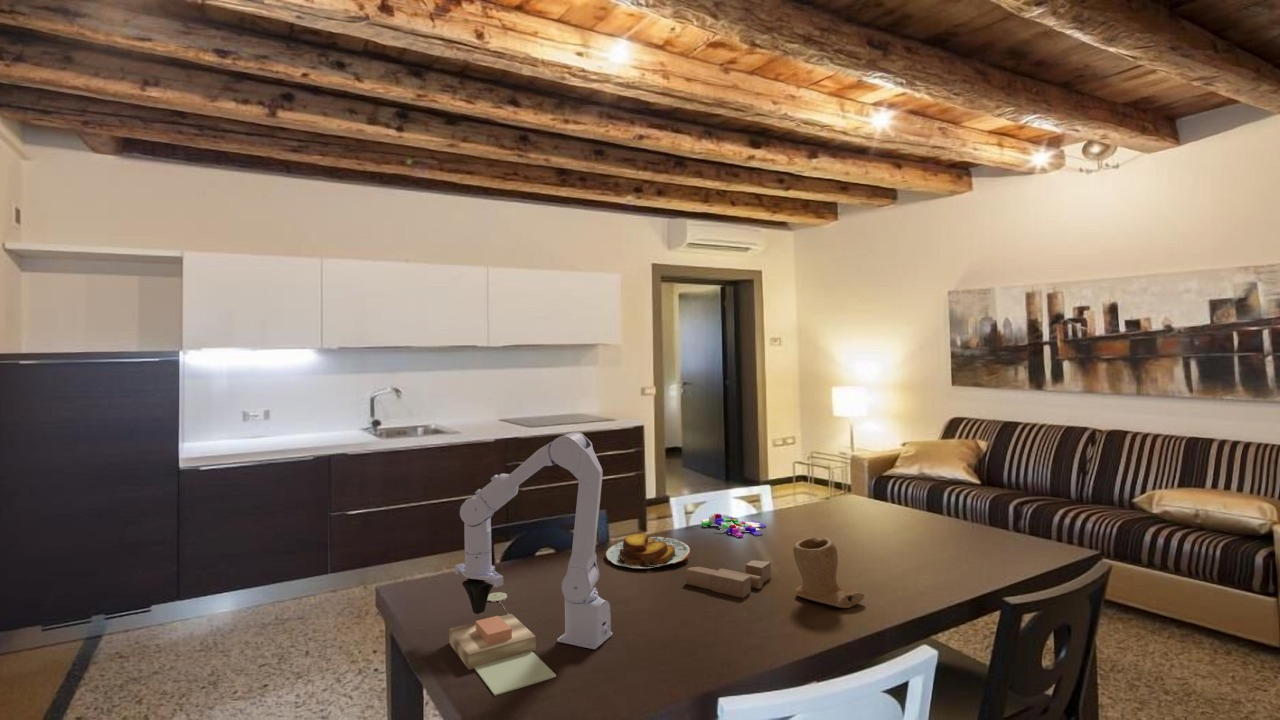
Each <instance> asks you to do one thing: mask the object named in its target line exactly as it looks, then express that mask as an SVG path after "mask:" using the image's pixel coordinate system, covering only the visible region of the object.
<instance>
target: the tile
mask: <svg viewBox="0 0 1280 720" xmlns="http://www.w3.org/2000/svg"><path fill="white" fill-rule="evenodd" d="M475 623H476V631H477V632H478V634H479V635H480V636H481V637H482V638H483V639H484V641H485V642H486V643H487V644H488V645H489V644H492V643H496V642H500V641H504V640H508V639H511V638H512V629H511V628H510V627H509V626H508V625H507V624H506V623H505V622H504V621H503V620H502V619H501V618H500V616H499V615H495V616H491V617H486V618H483V619H478V620H475Z"/></svg>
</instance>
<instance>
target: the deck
mask: <svg viewBox="0 0 1280 720" xmlns="http://www.w3.org/2000/svg"><path fill="white" fill-rule="evenodd" d="M508 614H509V615H508ZM508 614H506V615H501V616H499V617H500V618H501V619H502V620H503V621H504V622H505V623H506V624H507V625H508V626H509V627H510V628H511V629H512V638H511V639H508V640H504V641H500V642H496V643H492V644H489V645H488V644H487V643H486V642H485V641H484V639H483V638H482V637H481V636H480V635H479V634H478V632H477V631H476V622H472V623H469V624H464V625H463V624H462V625H460V626H455V627H452V628H448V643H449V645H450V646H451V648H452V649H453V650H454V652H455V653H456V654H457V656H458V657H459V659H460V660H461V661H462V663H463V664H464V665H465V667H466V668H467V669H468V670H469V671H470V670H475V669H474V667H476V666H480V665H483V664H487V663H490V662H494V661H497V660H501V659H505V658H508V657H512V656H515V655H519V654H522V653H526V652H529V651H532V652H533V651H534V652H537V637H536V635H535V634H534V633H533V632H532V631H531V630H529V629H528V628H527V627H526V626H525V625H524V624H523V623H522V622H521V621H520V620H519V619H518V618H517V617H516V616H515V615H514V614H513V613H508ZM534 652H533V653H534Z"/></svg>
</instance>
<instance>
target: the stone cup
mask: <svg viewBox="0 0 1280 720" xmlns="http://www.w3.org/2000/svg"><path fill="white" fill-rule="evenodd" d="M793 557H794V562H795V564H796V567H797V569H798V571H799V573H800V576H801V579H802V584H801V585H799V586H797V587H796V588H795V590H794V593H795V594H796V596H798V597H801V598H803V599H807V600H810V601H814V602H817V603H821V604H825V605H828V606H833V607H837V608H840V609H841V608H842V609H848V608H849V609H850V608H852V607H854V606H857V605H858V604H860V603H861V602H862V600H864V599H865V593H863V592H860V591H855V590H852V589H849V588H846V587H843V586H839V585H838V583H837V572H838V571H837V570H838V564H839V562H838V561H839V557H838V549H837V546H836V545H835V543H834V542H833V541H832V540H831V539H829V538H828V537H821V538H817V537H808V538H806V537H805V538H804V539H801V540H799V541H796V543H795V544H794V546H793Z"/></svg>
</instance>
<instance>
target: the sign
mask: <svg viewBox="0 0 1280 720" xmlns="http://www.w3.org/2000/svg"><path fill="white" fill-rule="evenodd" d="M506 598H507V599H508V594H507V593H505V592H500V591H499V592H492V593H489V595H488V599H487V602H488V601H491V602H490V603H497V602H496V601H499V602H498V603H499V605H500V604H501V603H502V602H503V601H505V600H507V599H506ZM502 600H503V601H502ZM501 605H502V606H503V607H502V606H501ZM501 605H500V606H501V607H502V609H503V608H504V609H503V610H504V611H505V609H506V608H505V606H504V605H503V603H502V604H501ZM509 614H510V613H509V612H508V613H506V615H509Z"/></svg>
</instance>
